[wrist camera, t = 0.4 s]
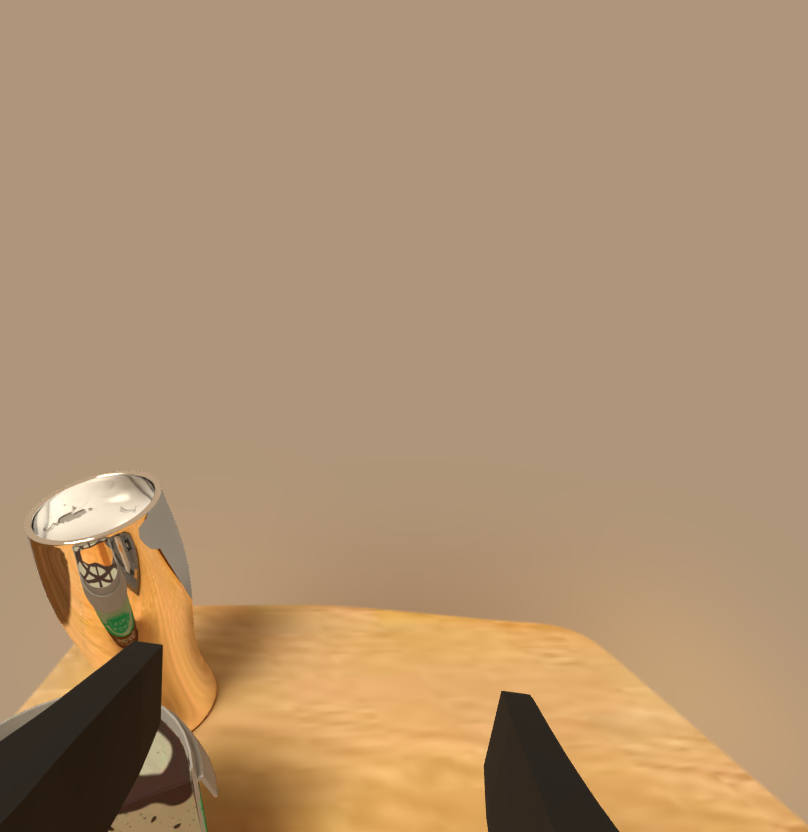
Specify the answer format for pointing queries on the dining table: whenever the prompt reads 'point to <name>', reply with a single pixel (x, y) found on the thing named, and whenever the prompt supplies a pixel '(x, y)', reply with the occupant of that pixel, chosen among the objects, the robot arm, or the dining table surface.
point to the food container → (157, 778)
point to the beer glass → (122, 579)
